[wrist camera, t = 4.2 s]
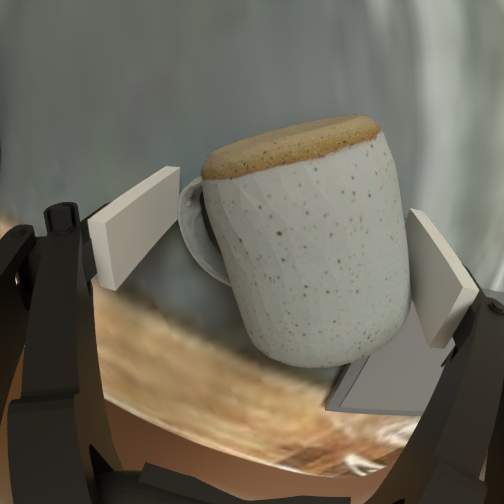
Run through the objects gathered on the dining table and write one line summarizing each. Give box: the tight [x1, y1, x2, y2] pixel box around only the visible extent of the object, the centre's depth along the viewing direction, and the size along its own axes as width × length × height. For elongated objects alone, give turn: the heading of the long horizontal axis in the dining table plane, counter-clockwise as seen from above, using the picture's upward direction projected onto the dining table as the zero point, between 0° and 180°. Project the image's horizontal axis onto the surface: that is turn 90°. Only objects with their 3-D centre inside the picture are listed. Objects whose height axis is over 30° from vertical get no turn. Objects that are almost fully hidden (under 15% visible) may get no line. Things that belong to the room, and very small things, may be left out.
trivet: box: [325, 289, 504, 415], centre depth 19 cm, size 14×14×1 cm
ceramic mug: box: [177, 114, 411, 368], centre depth 12 cm, size 11×8×8 cm
